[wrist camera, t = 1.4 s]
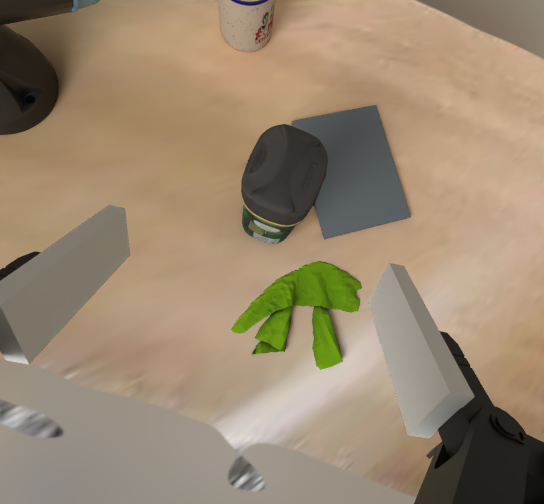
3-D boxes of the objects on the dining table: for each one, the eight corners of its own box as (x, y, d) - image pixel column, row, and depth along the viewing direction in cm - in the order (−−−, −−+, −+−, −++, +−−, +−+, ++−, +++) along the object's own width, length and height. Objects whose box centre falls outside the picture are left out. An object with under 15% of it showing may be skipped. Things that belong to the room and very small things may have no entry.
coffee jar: (257, 177, 44) (268, 102, 26) (303, 196, 45) (344, 136, 27) (234, 232, 43) (228, 194, 25) (281, 251, 44) (310, 228, 25)
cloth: (371, 269, 45) (378, 269, 43) (349, 409, 43) (356, 417, 40) (248, 243, 44) (249, 241, 41) (218, 387, 41) (216, 393, 39)
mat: (291, 123, 46) (292, 121, 45) (374, 107, 48) (376, 105, 47) (324, 239, 44) (325, 238, 44) (408, 217, 46) (410, 217, 46)
